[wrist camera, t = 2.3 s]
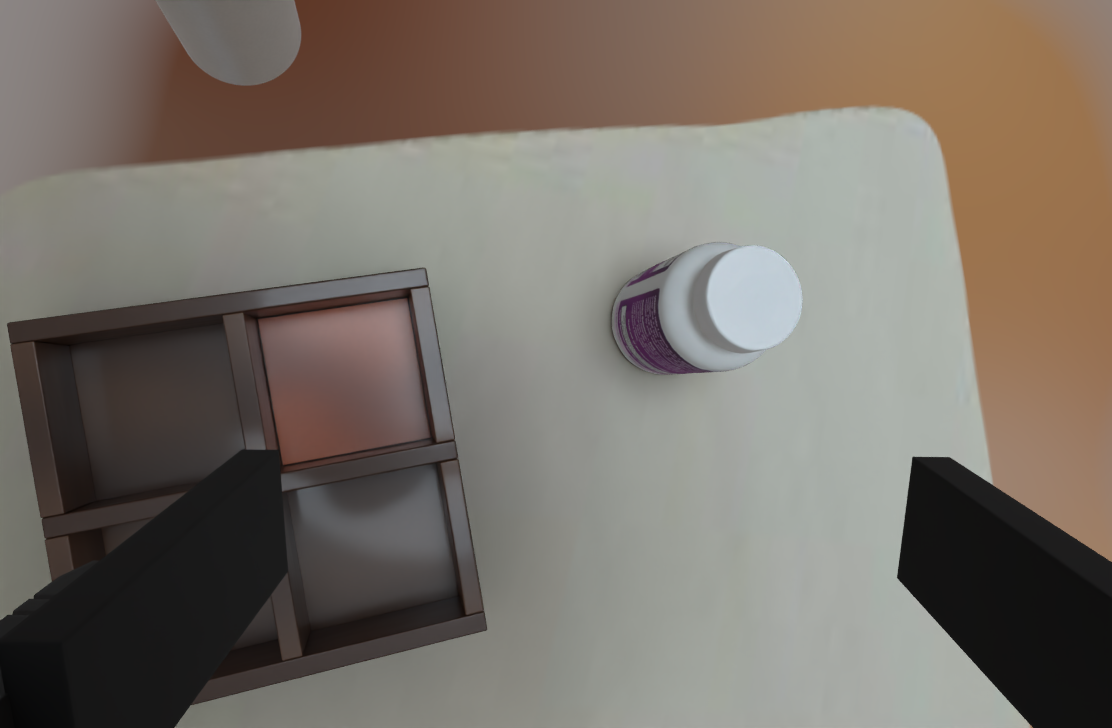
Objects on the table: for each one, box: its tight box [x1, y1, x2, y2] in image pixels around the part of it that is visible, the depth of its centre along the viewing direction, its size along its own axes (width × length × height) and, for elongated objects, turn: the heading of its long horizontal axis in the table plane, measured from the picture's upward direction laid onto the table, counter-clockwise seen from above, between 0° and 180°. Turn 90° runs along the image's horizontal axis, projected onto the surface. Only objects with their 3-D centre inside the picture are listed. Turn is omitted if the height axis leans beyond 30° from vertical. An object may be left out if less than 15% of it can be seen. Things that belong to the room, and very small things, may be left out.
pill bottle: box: [612, 242, 803, 374], centre depth 31 cm, size 5×5×10 cm
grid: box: [7, 268, 487, 705], centre depth 30 cm, size 15×15×4 cm
